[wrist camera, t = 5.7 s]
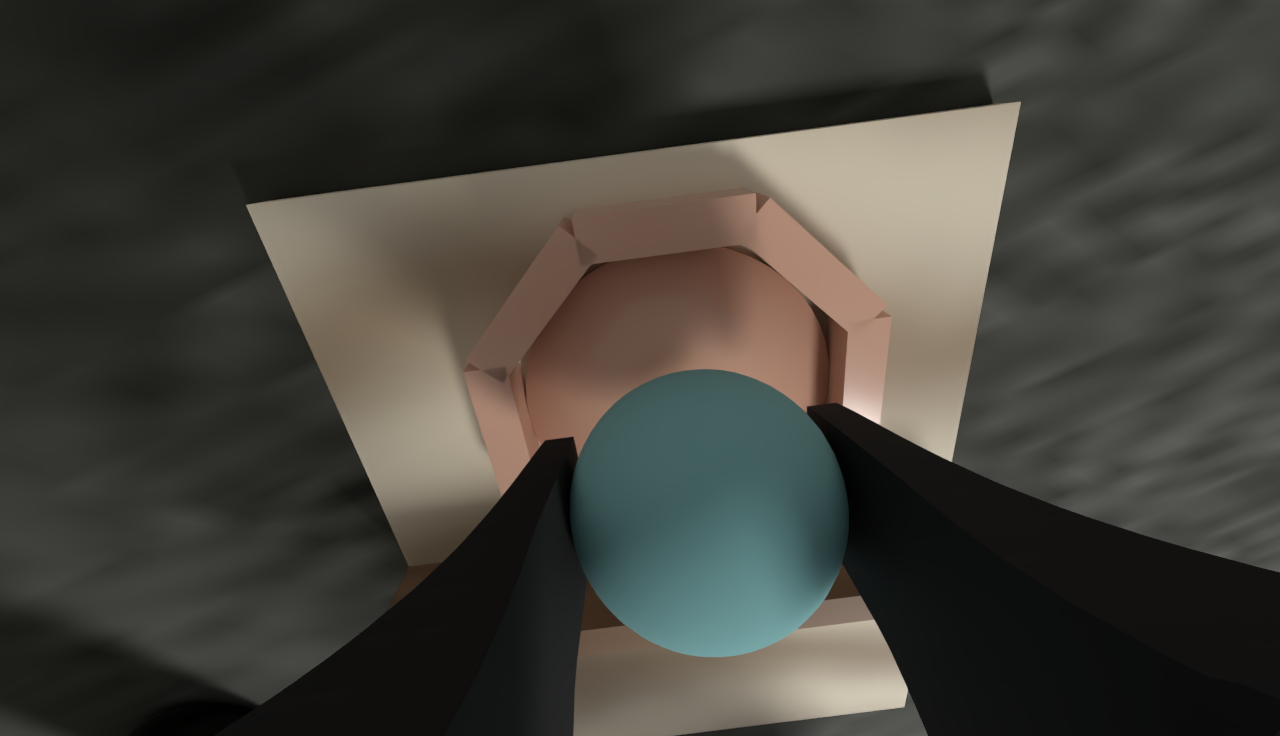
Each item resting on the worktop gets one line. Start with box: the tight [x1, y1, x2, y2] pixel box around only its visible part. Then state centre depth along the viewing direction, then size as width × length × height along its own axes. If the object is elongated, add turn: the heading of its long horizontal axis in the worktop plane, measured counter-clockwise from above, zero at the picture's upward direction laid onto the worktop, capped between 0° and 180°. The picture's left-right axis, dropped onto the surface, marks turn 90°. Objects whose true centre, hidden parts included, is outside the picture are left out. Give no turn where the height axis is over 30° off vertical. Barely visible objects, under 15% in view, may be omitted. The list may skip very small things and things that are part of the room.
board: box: [246, 102, 1021, 736], centre depth 14 cm, size 22×17×4 cm
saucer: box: [463, 188, 892, 496], centre depth 13 cm, size 10×10×1 cm
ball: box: [570, 369, 849, 657], centre depth 9 cm, size 5×5×5 cm
